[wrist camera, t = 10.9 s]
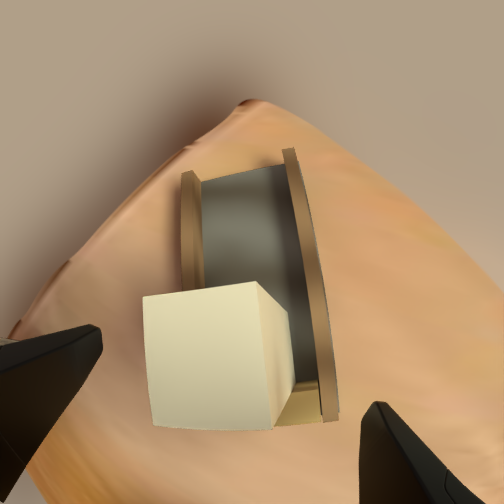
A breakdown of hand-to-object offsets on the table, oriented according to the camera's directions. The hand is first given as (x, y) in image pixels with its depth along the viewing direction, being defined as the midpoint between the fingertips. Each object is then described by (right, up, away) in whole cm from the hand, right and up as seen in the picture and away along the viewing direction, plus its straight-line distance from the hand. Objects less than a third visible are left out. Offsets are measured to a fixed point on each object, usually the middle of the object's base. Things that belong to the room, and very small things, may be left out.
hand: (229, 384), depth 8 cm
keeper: (+1, -3, +11) cm, 12 cm away
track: (+1, +1, +14) cm, 14 cm away
